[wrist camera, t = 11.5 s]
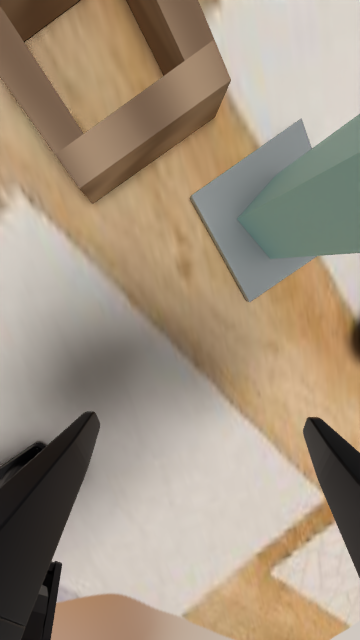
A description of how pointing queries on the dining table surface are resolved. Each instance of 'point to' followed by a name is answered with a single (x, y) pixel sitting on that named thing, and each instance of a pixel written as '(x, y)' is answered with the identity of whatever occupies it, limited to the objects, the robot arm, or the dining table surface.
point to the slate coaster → (235, 196)
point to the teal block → (312, 201)
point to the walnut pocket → (137, 114)
